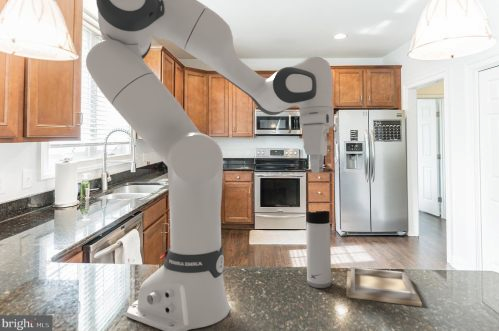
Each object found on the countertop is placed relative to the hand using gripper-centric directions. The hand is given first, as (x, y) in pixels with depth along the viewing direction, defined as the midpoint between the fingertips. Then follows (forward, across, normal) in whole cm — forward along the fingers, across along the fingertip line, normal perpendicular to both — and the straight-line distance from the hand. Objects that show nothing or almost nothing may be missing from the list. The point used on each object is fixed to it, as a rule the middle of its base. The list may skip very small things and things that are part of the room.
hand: (317, 172), depth 79 cm
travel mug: (+30, 0, 0) cm, 30 cm away
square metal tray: (+30, -2, +15) cm, 34 cm away
